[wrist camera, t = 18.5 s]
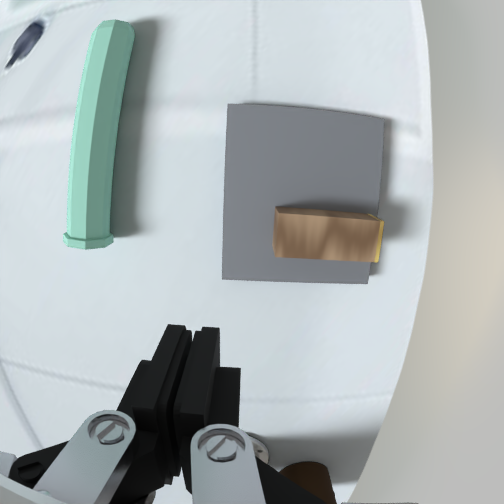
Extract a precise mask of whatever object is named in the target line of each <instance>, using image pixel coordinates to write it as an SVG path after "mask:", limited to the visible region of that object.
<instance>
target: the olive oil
mask: <svg viewBox="0 0 504 504" xmlns="http://www.w3.org/2000/svg"><path fill="white" fill-rule="evenodd" d="M279 473H281V474H282V475H284V476H285V477H287V478H288V479H290V480H291V481H293V482H294V483H296V484H297V485H299V486H301V487H302V488H304V489H305V490H307V491H309V492H310V493H312V494H313V495H315V496H317V497H318V498H320V499H322V500H323V501H324V502H325V503H327V504H337V503H336V499H335V494H334V491H333V488H332V484H331V480H330V476H329V472H328V469H327V467H326V466H324V465H323V464H320V463H316V462H301V463H296V464H293V465H290V466H288V467H286V468H284V469H282V470H281V471H280V472H279Z"/></svg>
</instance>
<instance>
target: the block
mask: <svg viewBox="0 0 504 504" xmlns="http://www.w3.org/2000/svg"><path fill="white" fill-rule="evenodd" d="M383 227H384V221H382V220H380V219H378V218H377V217H375V216H373V215H371V214H364V213H353V212H342V211H330V210H318V209H305V208H291V207H275V216H274V230H273V243H272V246H273V250H274V255H275V257H282V258H301V259H320V260H339V261H359V262H378V260H379V254H380V248H381V241H382V234H383Z"/></svg>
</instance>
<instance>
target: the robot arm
mask: <svg viewBox="0 0 504 504" xmlns="http://www.w3.org/2000/svg"><path fill="white" fill-rule="evenodd" d="M240 375H241V368H232V367H220V329H219V328H214V327H202V330H201V331H195V334H194V338H193V341H192V332H191V330H186V327H185V326H184V325H171V324H168V326H167V328H166V330H165V332H164V334H163V336H162V338H161V340H160V343H159V345H158V347H157V349H156V351H155V354H154V356H153V358H152V360H151V361H148V360H142V361H141V362H140V363H139V365H138V367H137V369H136V371H135V373H134V375H133V377H132V379H131V381H130V383H129V385H128V387H127V389H126V391H125V394H124V396H123V398H122V400H121V402H120V404H119V406H118V408H117V410H116V411H115V410H104V411H100V412H96V413H95V414H93V415H91V416H89V417H88V418H87V419H86V420H85V421H84V423H83V424H82V425H81V427H80V428H79V429H78V430H77V432H76V433H75V434H74V436H73V437H72V438H71V439H70V440H69V441H67V442H64V443H61V444H58V445H55V446H52V447H49V448H45V449H42V450H39V451H36V452H33V453H29V454H26V455H24V456H21V457H19V458H17V457H16V456H15V455H14V454H9V453H5V452H1V451H0V504H152V503H153V501H154V498H155V494H156V491H155V490H157V489H159V488H161V487H163V486H164V484H169V485H172V480H173V476H177V477H179V475H180V471H181V466H182V471H183V476H184V481H185V485H186V489H187V490H188V491H189V492H190V493H191V494H192V497H193V504H327V503H325V502H324V501H323V500H322V499H320V498H318V497H317V496H315V495H313V494H312V493H310V492H309V491H307V490H305V489H304V488H302V487H301V486H299V485H297V484H296V483H294V482H293V481H291V480H290V479H288V478H287V477H285V476H284V475H282V474H281V473H279V472H278V471H276V470H275V469H273V468H272V467H271V466H269V465H268V461H269V453H268V450H267V448H266V446H265V445H264V444H263V443H262V442H260V441H259V440H257V439H255V438H253V437H251V436H248V435H247V434H246V433H245V432H244V431H243V430H241V429H240V428H238V427H239V404H240ZM341 504H376V503H343V502H342V503H341ZM378 504H379V503H378ZM380 504H418V503H380Z"/></svg>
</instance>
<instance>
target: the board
mask: <svg viewBox="0 0 504 504" xmlns="http://www.w3.org/2000/svg"><path fill="white" fill-rule="evenodd" d="M383 140H384V119H381V118H376V117H370V116H364V115H357V114H350V113H343V112H336V111H328V110H319V109H309V108H299V107H287V106H273V105H254V104H228V108H227V128H226V151H225V178H224V209H223V251H222V279H225V280H247V281H273V282H303V283H342V284H368V278H369V272H370V266H371V262H359V261H339V260H320V259H301V258H282V257H275V255H274V250H273V246H272V243H273V230H274V216H275V207H291V208H305V209H318V210H330V211H342V212H353V213H364V214H371V215H373V216H375V217H377V214H378V205H379V195H380V185H381V172H382V158H383Z"/></svg>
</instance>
